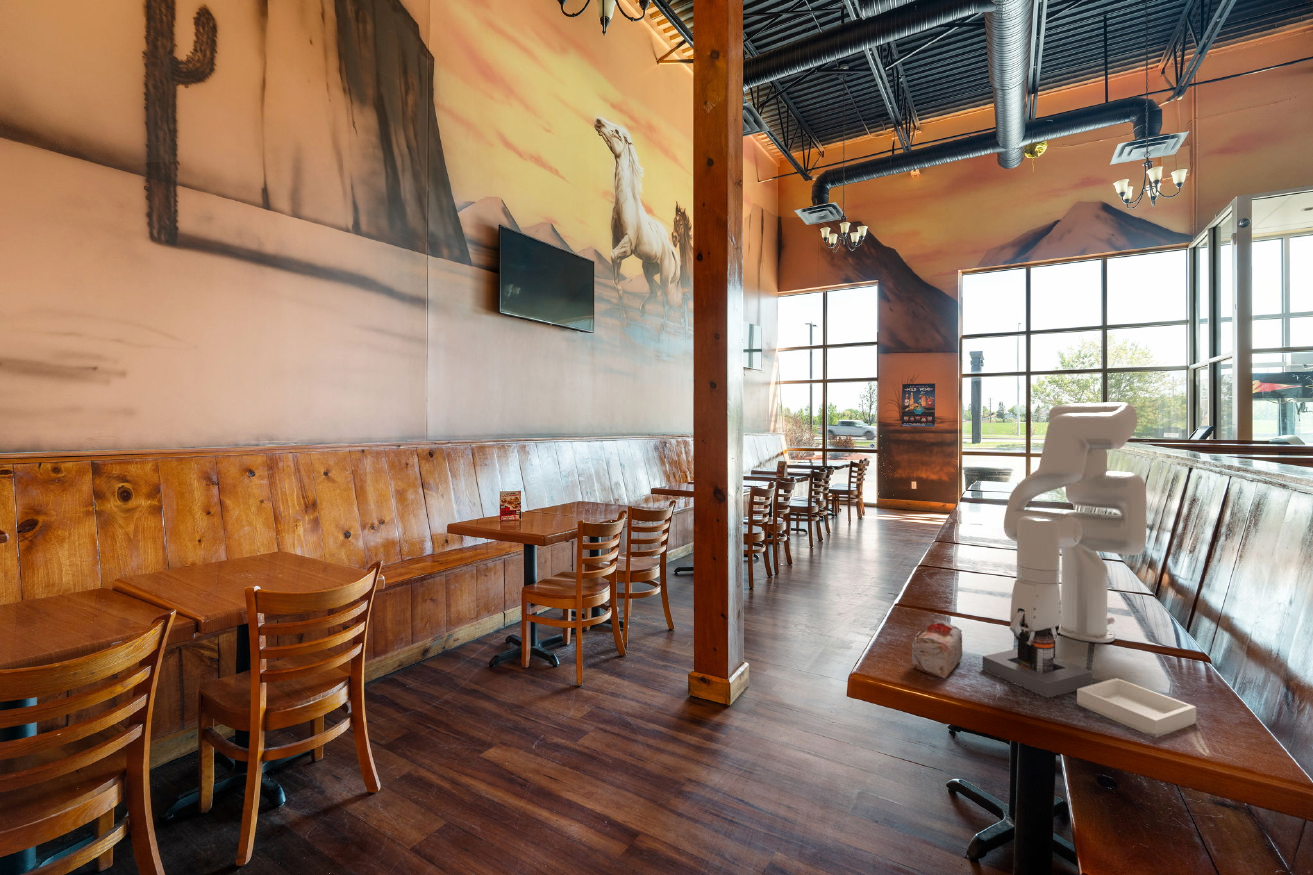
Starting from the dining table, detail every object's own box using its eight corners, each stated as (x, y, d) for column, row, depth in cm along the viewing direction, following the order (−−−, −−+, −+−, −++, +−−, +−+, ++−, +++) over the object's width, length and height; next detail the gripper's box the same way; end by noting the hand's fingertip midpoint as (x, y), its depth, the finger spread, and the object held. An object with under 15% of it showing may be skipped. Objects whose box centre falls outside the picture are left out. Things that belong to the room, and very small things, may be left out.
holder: (1024, 659, 129) (1025, 646, 129) (1092, 685, 116) (1092, 671, 116) (982, 669, 123) (982, 656, 123) (1048, 698, 111) (1048, 683, 110)
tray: (1116, 692, 113) (1116, 677, 113) (1196, 723, 101) (1196, 706, 101) (1076, 704, 108) (1077, 688, 108) (1155, 737, 97) (1156, 720, 96)
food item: (949, 683, 117) (949, 636, 117) (909, 672, 122) (909, 627, 122) (965, 662, 127) (965, 619, 127) (927, 653, 133) (928, 611, 133)
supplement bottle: (1012, 671, 123) (1013, 619, 122) (1038, 670, 123) (1039, 619, 123) (1033, 683, 117) (1034, 629, 116) (1060, 682, 117) (1061, 628, 117)
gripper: (1045, 566, 126) (1044, 645, 127) (993, 574, 119) (991, 658, 120) (1082, 574, 119) (1080, 658, 120) (1028, 583, 113) (1026, 672, 113)
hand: (1036, 657), depth 120 cm, fingers closed on supplement bottle, 6 cm apart
